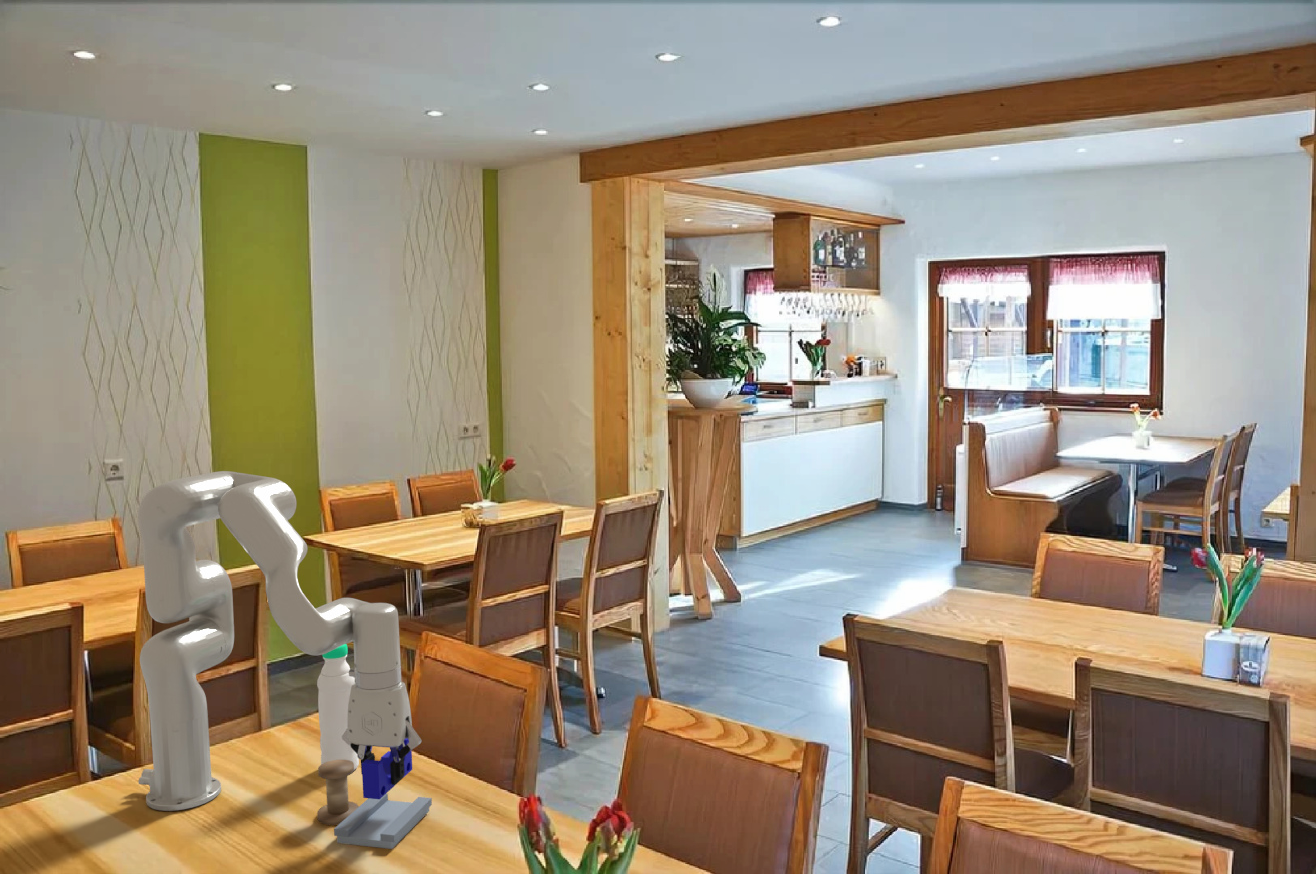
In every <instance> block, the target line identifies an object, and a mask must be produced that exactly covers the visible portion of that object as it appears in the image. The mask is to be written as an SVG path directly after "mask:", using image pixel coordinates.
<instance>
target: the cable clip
mask: <svg viewBox="0 0 1316 874" xmlns="http://www.w3.org/2000/svg"><path fill="white" fill-rule="evenodd" d="M408 743H409V740H408V738H406V739H404V744H405V745H407V744H408ZM412 751H413V749H412V750H411V751H410V752H409V753H408V754H407V755H406V756H405V757H404V770H405V774H404V777H403V779H404V778H405V777H406V776H407V775H408V774H409V773H410V772H412V771H413V752H412ZM392 761H393V758H392V754H391V750H390V751H389V750H388V751H387V752H385V753H384V754H383V755H382V756H381V757H380V759H379V760H376V759H375V760H365V761H364V762H363V763H362V774H361V775H362V794H363V795H362V797H363V798H364V799H368V798H370V799H381V798H382V797H383V796H384V795H385V794H388V792H390V791H391V790H392V789H393V788H394V787H395V786H396V785H392V784H391V770H390V763H391V762H392Z"/></svg>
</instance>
